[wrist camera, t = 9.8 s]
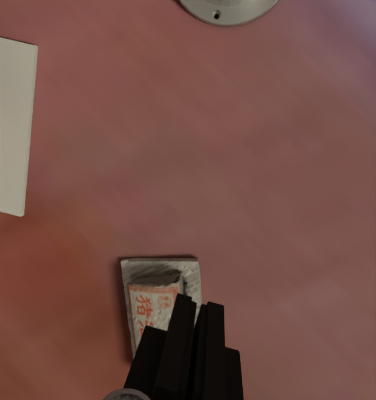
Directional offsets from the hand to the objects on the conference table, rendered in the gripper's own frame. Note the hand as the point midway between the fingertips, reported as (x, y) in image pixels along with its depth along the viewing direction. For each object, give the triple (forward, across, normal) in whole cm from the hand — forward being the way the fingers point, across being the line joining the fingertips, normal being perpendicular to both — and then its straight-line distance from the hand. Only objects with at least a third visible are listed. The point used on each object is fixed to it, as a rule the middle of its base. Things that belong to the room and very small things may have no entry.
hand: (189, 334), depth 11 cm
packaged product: (+28, +1, +20) cm, 34 cm away
